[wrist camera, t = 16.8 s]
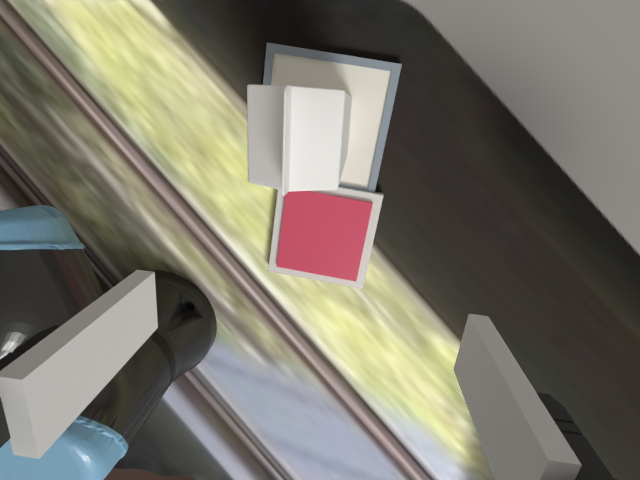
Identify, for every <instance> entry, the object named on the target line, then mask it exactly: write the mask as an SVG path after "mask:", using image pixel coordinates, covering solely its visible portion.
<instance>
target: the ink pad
mask: <svg viewBox="0 0 640 480" xmlns="http://www.w3.org/2000/svg"><path fill="white" fill-rule="evenodd" d="M382 199H383V193H379V192H375V193H371V192H365V191H359V190H354V189H348V188H342V187H338V189H335V190H314V191H290V192H288V193H287V194H286V195H285V196H283V195H282V190H279V189H278V193H277V202H276V210H275V219H274V227H273V236H272V244H271V253H270V261H269V270H268V271H271V272H276V273H281V274H287V275H292V276H297V277H303V278H308V279H313V280H319V281H324V282H329V283H334V284H340V285H345V286H350V287H356V288H361V289H363V285H364V281H365V276H366V272H367V267H368V263H369V258H370V254H371V249H372V245H373V240H374V236H375V231H376V227H377V222H378V217H379V213H380V208H381V204H382Z"/></svg>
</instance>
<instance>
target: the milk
mask: <svg viewBox="0 0 640 480" xmlns="http://www.w3.org/2000/svg"><path fill="white" fill-rule="evenodd" d="M351 109H352V97H351V96H350V95H349V94H348V93H347V92H346V91H344V90H336V89H324V88H312V87H299V86H290V85H286V86H281V85H248V86H247V117H248V182H250V183H253V184H257V185H262V186H266V187H270V188H274V189H279V190H282V195H283V196H285V195H286V194H287V193H288V192H290V191H314V190H335V189H338V186H339V183H340V179H341V176H342V172H343V169H344V165H345V162H346V158H347V155H348V146H349V134H350V122H351Z"/></svg>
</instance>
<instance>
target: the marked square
mask: <svg viewBox="0 0 640 480" xmlns="http://www.w3.org/2000/svg"><path fill="white" fill-rule="evenodd" d="M401 66H402V64H398V63H392V62H386V61H379V60H373V59H367V58H361V57H355V56H348V55H342V54H336V53H330V52H323V51H317V50H311V49H305V48H299V47H292V46H286V45H280V44H274V43H267V46H266V57H265V68H264V78H263V85H281V86H286V85H290V86H299V87H312V88H324V89H336V90H344V91H346V92H347V93H348V94H349V95H350V96H351V97H352V109H351V122H350V134H349V146H348V155H347V158H346V162H345V165H344V169H343V172H342V176H341V179H340V183H339V186H338V187H342V188H348V189H354V190H359V191H365V192H371V193H375V188H376V184H377V179H378V174H379V169H380V165H381V160H382V155H383V151H384V146H385V141H386V136H387V132H388V127H389V122H390V118H391V113H392V108H393V103H394V99H395V94H396V89H397V85H398V80H399V75H400V70H401Z"/></svg>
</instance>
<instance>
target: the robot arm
mask: <svg viewBox="0 0 640 480" xmlns="http://www.w3.org/2000/svg"><path fill="white" fill-rule="evenodd" d="M83 248H85V247H84V244H83V243H80V241H79V239H78V238H77V236H76V234H75V232H74V230H73V229H72V227H71V225H70V223H69V221H68V219H67V218H66V216H65V215H64V214H63V213H62V212H61V211H60V210H58V209H56V208H54V207H51V206H47V205H35V206H28V207H22V208H16V209H9V210H3V211H0V480H104V478H105V477H106V476H107V475H108V473H109V472H110V471H111V469H112V468H113V467H114V465H115V464H116V463H117V462H118V460H119V459H121V458H122V457H123V456H124V455H125V453H126V451H127V449H128V448H129V446H130V445H131V443H132V442H133V440H134V439H135V437H136V436H137V434H138V433H139V431H140V430H141V428H142V427H143V425H144V424H145V422H146V421H147V419H148V418H149V416H150V415H151V413H152V411H153V410H154V408H155V407H156V405H157V404H158V402H159V401H160V399H161V398H162V396H163V395H164V393H165V392H166V390H167V389H168V387H169V386H170V384H171V383H172V382H173V381H175V380H176V379H177V378H179V377H180V376H182V375H183V374H184V373H186V372H187V371H188V370H190V369H192V368H193V367H195V366H196V365H198V364H199V363H200V362H201V361H202V360H203V359H204V357H205V356H206V354H207V353H208V351H209V350H210V348H211V346H212V345H213V343H214V340H215V337H216V330H217V325H216V318H215V314H214V311H213V309H212V307H211V305H210V303H209V301H208V300H207V298H206V297H205V296H204V295H203V293H202V292H201V291H200V290H199V289H198V288H196V287H195V286H194V285H193V284H191V283H190V282H189V281H187V280H185V279H183V278H182V277H179V276H177V275H174V274H171V273H168V272H163V271H144V270H136V271H135V272H133V273H132V274H131V275H129V276H128V277H127V278H125V279H124V280H122V281H121V282H120V283H118V284H117V285H116V286H114V287H113V288H112V289H110V290H109V291H108V292H106V293H105V294H104V292H103V290H102V288H101V286H100V284H99V282H98V279H97V277H96V275H95V273H94V271H93V269H92V266H91V264H90V262H89V260H88V258H87V255H86V253H85V251H84V249H83ZM454 372H455V374H456V377H457V380H458V382H459V385H460V388H461V390H462V393H463V396H464V398H465V401H466V404H467V407H468V409H469V412H470V415H471V417H472V420H473V423H474V425H475V428H476V431H477V433H478V436H479V439H480V442H481V444H482V447H483V450H484V452H485V455H486V458H487V460H488V463H489V466H490V468H491V471H492V474H493V477H494V479H495V480H617V479H614V478H613V477H612V475H611V474H610V472H609V471H608V469H607V468H606V467H605V465H604V464H603V462H602V461H601V459H600V458H599V456H598V455H597V454H596V452H595V451H594V449H593V448H592V446H591V445H590V443H589V442H588V441H587V439H586V438H585V436H583V435H582V432H581V430H580V429H579V428H578V426H577V425H576V424H574V420H573V419H572V418H571V416H570V415H569V413H568V412H567V410H566V409H565V407H563V406H562V405H561V404H560V403H559V402H558V401H557V400H555V399H554V398H553V397H552V396H551V395H549V394H542V393H536V392H535V390H534V388H533V387H532V385H531V384H530V382H529V380H528V379H527V377H526V376H525V374H524V373H523V371H522V369H521V368H520V366H519V365H518V363H517V361H516V360H515V358H514V357H513V355H512V353H511V352H510V350H509V349H508V347H507V346H506V344H505V342H504V341H503V339H502V338H501V336H500V334H499V333H498V331H497V330H496V328H495V327H494V325H493V323H492V322H491V320H490V319H489V317H488V316H482V315H474V314H469V315H468V319H467V323H466V326H465V330H464V334H463V337H462V341H461V344H460V348H459V352H458V355H457V359H456V363H455V366H454Z"/></svg>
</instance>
